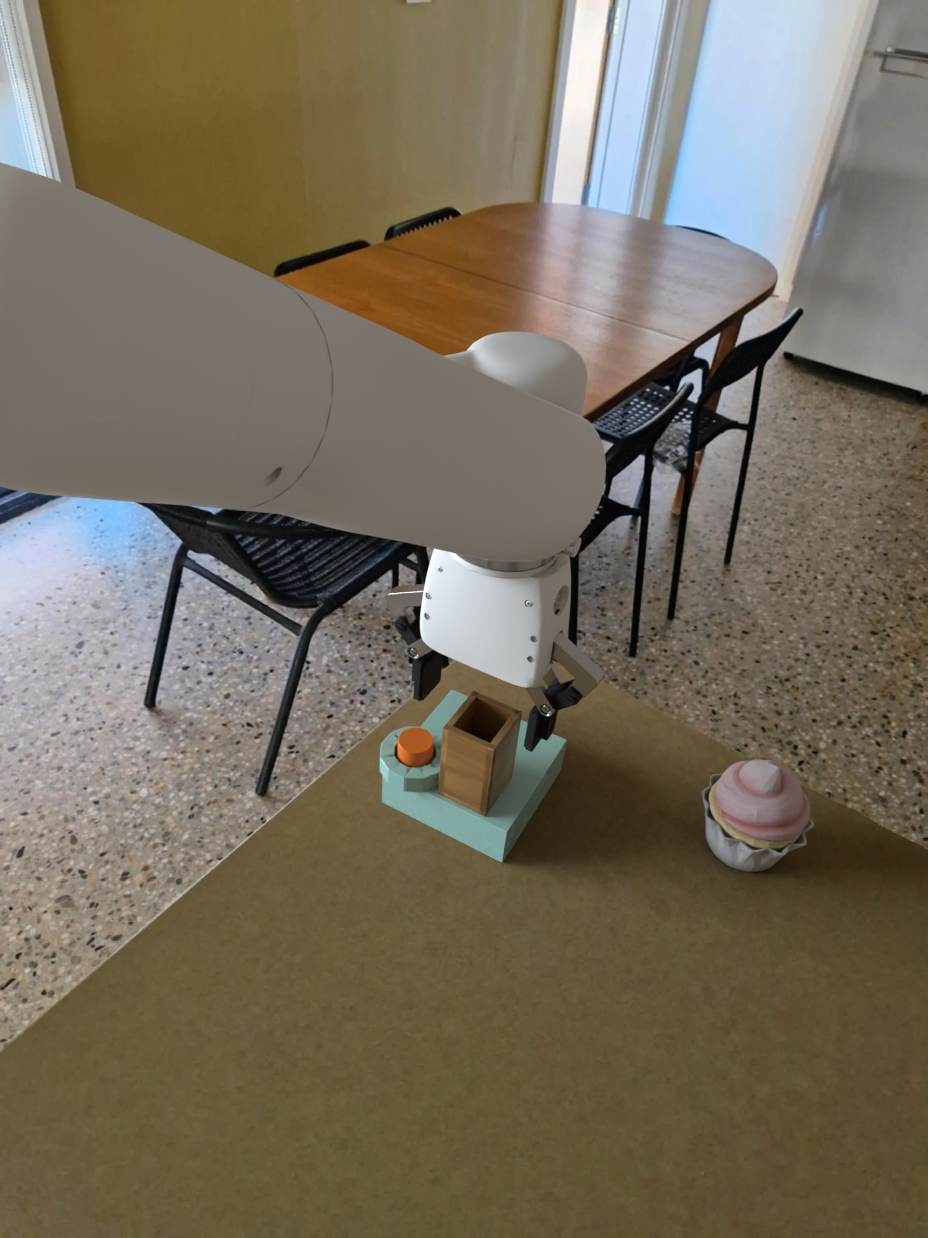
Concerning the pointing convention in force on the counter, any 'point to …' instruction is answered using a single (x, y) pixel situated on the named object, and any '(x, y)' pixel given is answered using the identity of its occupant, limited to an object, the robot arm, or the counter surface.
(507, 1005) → the counter surface
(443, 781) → the open wooden box
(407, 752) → the button
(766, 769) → the cupcake
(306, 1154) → the counter surface
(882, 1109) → the counter surface
